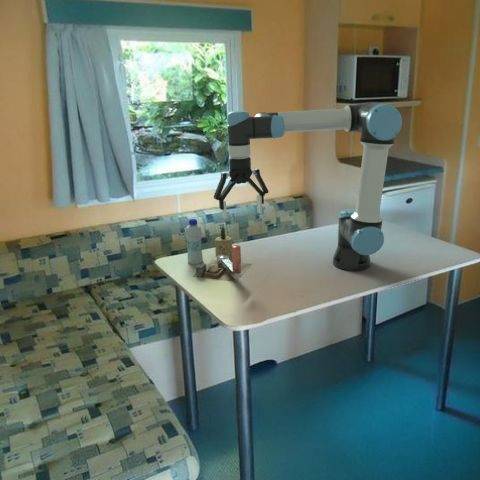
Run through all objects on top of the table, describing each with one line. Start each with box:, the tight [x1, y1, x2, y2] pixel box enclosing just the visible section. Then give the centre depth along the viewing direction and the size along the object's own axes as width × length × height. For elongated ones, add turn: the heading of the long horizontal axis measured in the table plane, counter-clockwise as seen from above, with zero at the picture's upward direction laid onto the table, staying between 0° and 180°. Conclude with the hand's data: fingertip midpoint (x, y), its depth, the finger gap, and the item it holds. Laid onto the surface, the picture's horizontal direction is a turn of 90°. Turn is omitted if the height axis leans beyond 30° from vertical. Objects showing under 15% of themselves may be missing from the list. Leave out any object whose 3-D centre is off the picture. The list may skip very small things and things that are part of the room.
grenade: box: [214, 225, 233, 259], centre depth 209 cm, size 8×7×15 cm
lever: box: [216, 244, 243, 279], centre depth 188 cm, size 21×5×12 cm, turn 20°
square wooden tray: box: [192, 258, 253, 283], centre depth 195 cm, size 18×19×6 cm
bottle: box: [185, 218, 204, 265], centre depth 202 cm, size 7×7×20 cm
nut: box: [209, 264, 219, 273], centre depth 191 cm, size 4×4×4 cm
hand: (242, 215), depth 177 cm, fingers open, 13 cm apart
